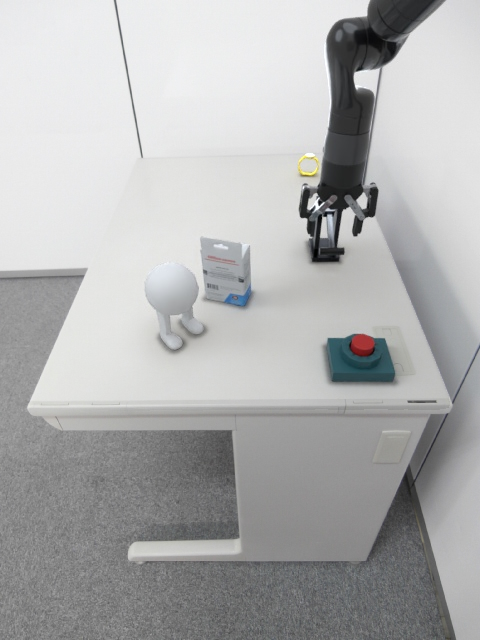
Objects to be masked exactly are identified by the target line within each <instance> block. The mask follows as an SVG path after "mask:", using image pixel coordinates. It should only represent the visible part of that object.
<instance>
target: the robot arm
mask: <svg viewBox="0 0 480 640" xmlns="http://www.w3.org/2000/svg"><path fill="white" fill-rule="evenodd" d="M445 2H447V0H369V2H368V4H367V10H366V16H355V17H345V18H341V19H338V20H337V21H336V22H334V23H333V24H332V26H331V27H330V29H329V30H328V33H327V34H326V38H325V41H324V46H323V47H324V53H323V54H324V62H325V69H326V75H327V82H328V83H327V84H328V92H329V101H330V102H329V111H328V119H327V121H328V122H327V128H326V133H325V136H324V140H323V141H324V142H323V146H322V159H321V168H320V178H319V182H318V184H317V185H309V184H308V183H307V182H305V183H303V184H302V185H301V191H300V198H299V205H298V213H299V214H298V215H299V218H300V219H306V232H307V235H309V236H310V237H309V238H312V237H314V233H315V224H316V220H315V219H316V218H317V217H318V216H319V215H320V214H322V213H323V212H324V211H325V210H326V209H327V208H329V209H330V210H334V209H342V210H343V211H344V210H345V211H346V210H347V209H349V208H350V209H351V211H352V212H353V213H354V217H353V221H352V223H353V224H352V230H351V233H352V236H353V237H355V238H357V237H358V235H360V234H361V233H362V232H363V231H362V230H363V226H364V221H365V220H366V219H367V218H374V217H375V216H376V213H377V205H378V199H379V191H380V190H379V188H378V186H377V184H376V182H373V181H372V182H371V183H369V184H366V185H363V181H364V175H365V174H364V173H365V168H366V163H367V159H368V152H369V147H370V138H371V137H370V134H371V133H370V132H371V127H372V122H373V116H374V110H375V104H376V95H375V93H374V91H373V90H372V89H370V88H368V87H365V86H361V85H356V83H355V73H356V74H357V73H362V72H363V73H364V72H370V71H376V70H380V69H381V68H383V67H386V66H387V65H389V64H390V63H391V62H393V61H394V59H395V58H396V57H397V56H398V54H399V53H400V51H401V50H402V48H403V46H404V45H405V43H406V42H407V41H408V38H409V37H410V35H411V34H412V33H413V32H414V31H415V30H416V29H417V28H418V27H420V25H422V24H423V23H424V22H426V20H427V19H429V18H430V17H431V16H432V15H433V14H434V13H435V12H437V10H438V9H439V8H440V7H442V5H444V4H445ZM363 193H364V194H365V197H366V198H367V201H366V207H365V208H362V207H361V205H360V204H359V203H358V201H357V200H358V199H360V197H361V196H362V195H363ZM315 194H316V195H317V196H319V198H318V199H317V200H316V199H315V201H314V204H313V205H312V206H311V207H310V208H309V207H308V206H309V200H311V199H312V198H313V197H314V195H315Z"/></svg>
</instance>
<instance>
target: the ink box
mask: <svg viewBox="0 0 480 640" xmlns="http://www.w3.org/2000/svg"><path fill="white" fill-rule="evenodd" d="M199 240H200V249H201V250H200V258H201V267H202V277H203V285H204V292H205V293H204V295H205V299H207V300H211V301H214V302H215V301H216V302H220V303H225V304H226V303H227V304H230V305H235V306H241V307H245V306H246V304H247V301H248V299H249V298H250V295H251V293H252V272H251V271H252V270H251V269H252V268H251V267H252V266H251V265H252V264H251V244H250V243H249V244H248V243H241V242H237V241H231V240H225V239H219V238H214V237H207V236H203V235H202V236H200V237H199Z"/></svg>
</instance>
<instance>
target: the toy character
mask: <svg viewBox="0 0 480 640" xmlns="http://www.w3.org/2000/svg"><path fill="white" fill-rule="evenodd" d="M199 289H200V287H199V283H198V281H197V277H196V275H195V273H194V272H193V271H192V270H190V269H189V267H187V266H186V265H185V264H183V263H180V262H177V261H167V262H164V263H161V264H157V265H156V266H155V267H153V268H152V269H151V270H150V271H149V272H148V274H147V276H146V278H145V281H144V295H145V297H146V300H147V303H148V304H149V305H150V307H152V309H153V310H155V312H156V316H157V320H158V325H159V326H158V327H159V336H160V339H161V340H162V341H163V343H164V344H165V345H166V346H167V347H168V348H169V349H170V350H172V351H176V350H179V349H181V348H182V346H183V344H184V343H183V340H182V337H179V336H178V335H177V334H176V333H174V331H172V325H171V323H172V322H171V317H170V316H180V315H181V323H182V325H183V326H184V327H185V328H186V329H187V331H188V332H189V333H191V334H192V335H200V334H201V333H203V332H204V329H205V328H204V324H203V323H202V322H201V321H199V320H198V319H197V318H195V316H194V308H193V306H194V305H195V304H196V302H197V299H198V296H199V291H200V290H199Z"/></svg>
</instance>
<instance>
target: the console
mask: <svg viewBox="0 0 480 640" xmlns="http://www.w3.org/2000/svg"><path fill="white" fill-rule="evenodd" d="M358 334H359V333H352V334H349V335H347V336H346V337H327V340H326V345H325V347H326V352H327V353H326V354H327V360H328V365H329V372H330V377H331V381H332V382H379V383H380V382H382V383H384V382H388V383H389V382H391V383H393V382H394V379H395V376H396V370H395V367H394V364H393V360H392V356H391V353H390V350H389V347H388V343H387V340H386V338H385V337H374V336H371V335H369V336H370V337H371V338H372V339H373V340H374V348H373V352H372V354H371V355H369V356H367V357H360V356H358V355H355V354H354V353H353V352H352V351H351V343H352V339H353V337H354V336H356V335H358ZM363 334H364V335H367V334H366V333H363Z"/></svg>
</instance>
